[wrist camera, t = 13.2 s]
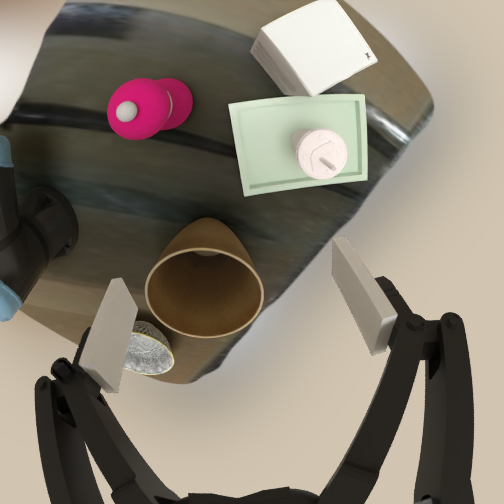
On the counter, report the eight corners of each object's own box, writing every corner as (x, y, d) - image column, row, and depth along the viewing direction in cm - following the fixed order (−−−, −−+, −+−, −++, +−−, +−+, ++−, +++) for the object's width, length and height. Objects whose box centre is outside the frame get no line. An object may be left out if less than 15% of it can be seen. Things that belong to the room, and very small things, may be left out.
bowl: (179, 354, 64) (176, 378, 57) (119, 347, 61) (113, 370, 55) (175, 309, 55) (170, 336, 49) (106, 302, 53) (95, 327, 47)
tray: (243, 191, 43) (244, 196, 41) (228, 103, 35) (228, 104, 33) (361, 175, 42) (367, 179, 40) (357, 93, 35) (364, 94, 33)
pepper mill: (206, 100, 34) (186, 105, 18) (172, 135, 37) (128, 173, 20) (171, 70, 31) (122, 52, 15) (138, 106, 34) (70, 123, 17)
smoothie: (273, 147, 38) (295, 173, 27) (296, 112, 36) (330, 122, 24) (308, 168, 41) (341, 203, 29) (330, 135, 38) (374, 157, 26)
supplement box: (298, 22, 28) (333, -8, 16) (331, 68, 33) (381, 62, 20) (247, 50, 31) (258, 26, 18) (283, 97, 35) (313, 99, 23)
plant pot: (208, 284, 52) (205, 351, 39) (149, 234, 45) (123, 296, 32) (270, 238, 48) (287, 301, 34) (211, 177, 41) (203, 223, 28)
